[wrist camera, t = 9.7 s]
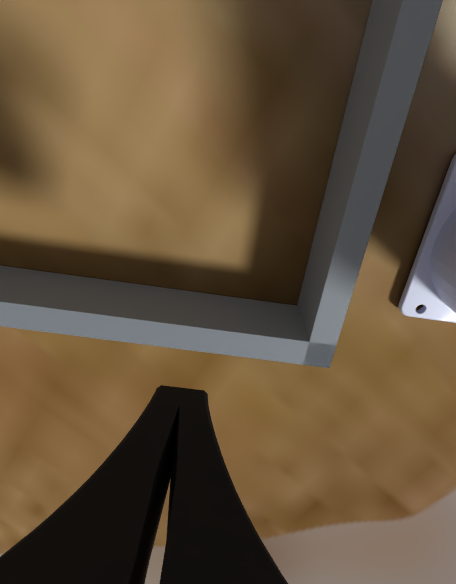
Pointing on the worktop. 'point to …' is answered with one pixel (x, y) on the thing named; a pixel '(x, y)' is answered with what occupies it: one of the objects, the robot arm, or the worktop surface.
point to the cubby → (324, 252)
